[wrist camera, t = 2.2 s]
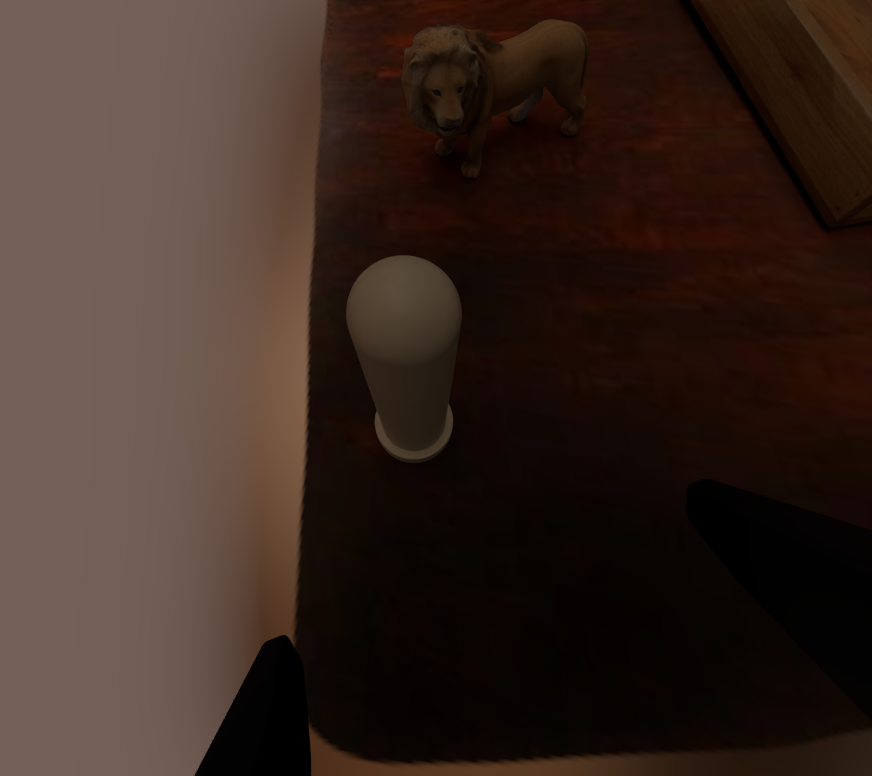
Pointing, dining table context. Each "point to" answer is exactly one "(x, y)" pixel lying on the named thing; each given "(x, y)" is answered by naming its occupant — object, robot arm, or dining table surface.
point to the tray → (808, 89)
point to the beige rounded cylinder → (407, 352)
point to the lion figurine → (491, 80)
